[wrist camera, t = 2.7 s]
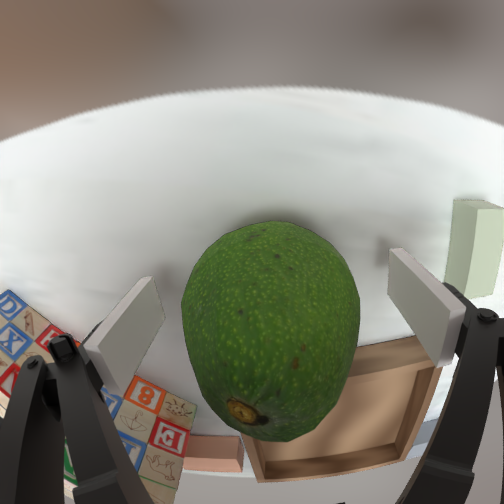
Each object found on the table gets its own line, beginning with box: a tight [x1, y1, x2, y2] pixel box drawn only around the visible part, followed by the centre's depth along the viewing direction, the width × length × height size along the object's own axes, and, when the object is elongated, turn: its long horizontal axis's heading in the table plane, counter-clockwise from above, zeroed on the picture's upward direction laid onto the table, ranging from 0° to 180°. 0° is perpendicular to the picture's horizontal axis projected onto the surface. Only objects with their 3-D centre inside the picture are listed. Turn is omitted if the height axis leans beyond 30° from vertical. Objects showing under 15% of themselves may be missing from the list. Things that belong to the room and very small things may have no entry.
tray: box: [240, 336, 443, 483], centre depth 21 cm, size 16×16×3 cm
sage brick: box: [444, 200, 504, 299], centre depth 16 cm, size 6×3×3 cm, turn 5°
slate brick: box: [405, 418, 439, 460], centre depth 23 cm, size 6×3×3 cm, turn 93°
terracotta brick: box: [183, 435, 244, 472], centre depth 24 cm, size 6×3×3 cm, turn 98°
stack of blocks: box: [0, 290, 197, 504], centre depth 17 cm, size 21×6×12 cm, turn 61°
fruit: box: [181, 221, 360, 442], centre depth 13 cm, size 8×8×12 cm
